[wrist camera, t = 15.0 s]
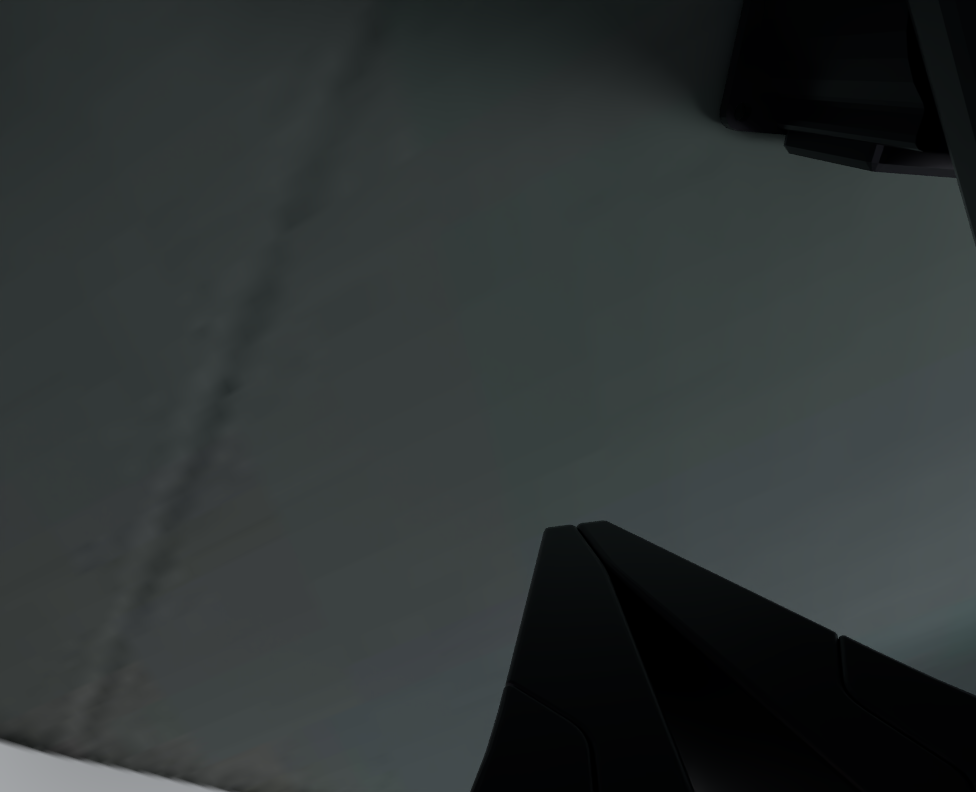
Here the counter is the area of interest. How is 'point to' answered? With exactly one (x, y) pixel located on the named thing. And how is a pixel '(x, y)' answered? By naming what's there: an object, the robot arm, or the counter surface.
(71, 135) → the counter surface
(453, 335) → the counter surface
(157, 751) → the counter surface
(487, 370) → the counter surface
